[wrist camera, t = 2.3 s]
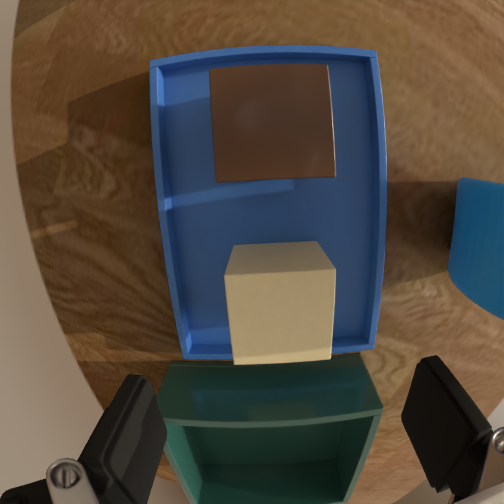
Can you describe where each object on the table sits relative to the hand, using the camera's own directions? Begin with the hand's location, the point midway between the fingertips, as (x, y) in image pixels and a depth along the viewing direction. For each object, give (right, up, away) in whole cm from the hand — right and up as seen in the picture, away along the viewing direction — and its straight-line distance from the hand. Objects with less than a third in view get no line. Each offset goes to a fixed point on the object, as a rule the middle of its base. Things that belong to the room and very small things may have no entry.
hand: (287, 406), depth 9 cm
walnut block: (0, +12, +7) cm, 14 cm away
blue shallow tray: (0, +8, +9) cm, 12 cm away
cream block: (0, +3, +10) cm, 10 cm away
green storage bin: (0, -9, +14) cm, 17 cm away
